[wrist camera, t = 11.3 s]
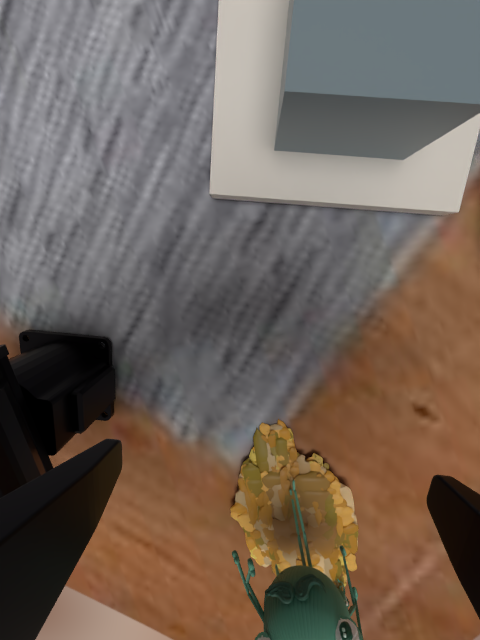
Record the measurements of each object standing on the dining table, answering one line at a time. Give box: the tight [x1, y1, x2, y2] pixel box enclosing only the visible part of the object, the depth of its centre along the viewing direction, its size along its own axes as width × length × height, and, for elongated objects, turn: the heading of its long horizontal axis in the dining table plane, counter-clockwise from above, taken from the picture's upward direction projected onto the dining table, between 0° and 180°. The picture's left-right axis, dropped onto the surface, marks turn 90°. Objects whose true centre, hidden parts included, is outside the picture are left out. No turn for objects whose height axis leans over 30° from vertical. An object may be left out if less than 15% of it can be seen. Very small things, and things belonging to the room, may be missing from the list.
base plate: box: [209, 0, 480, 216], centre depth 14 cm, size 14×12×4 cm
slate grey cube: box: [274, 0, 480, 160], centre depth 12 cm, size 7×7×6 cm
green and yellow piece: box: [230, 419, 363, 640], centre depth 17 cm, size 10×18×15 cm, turn 14°
